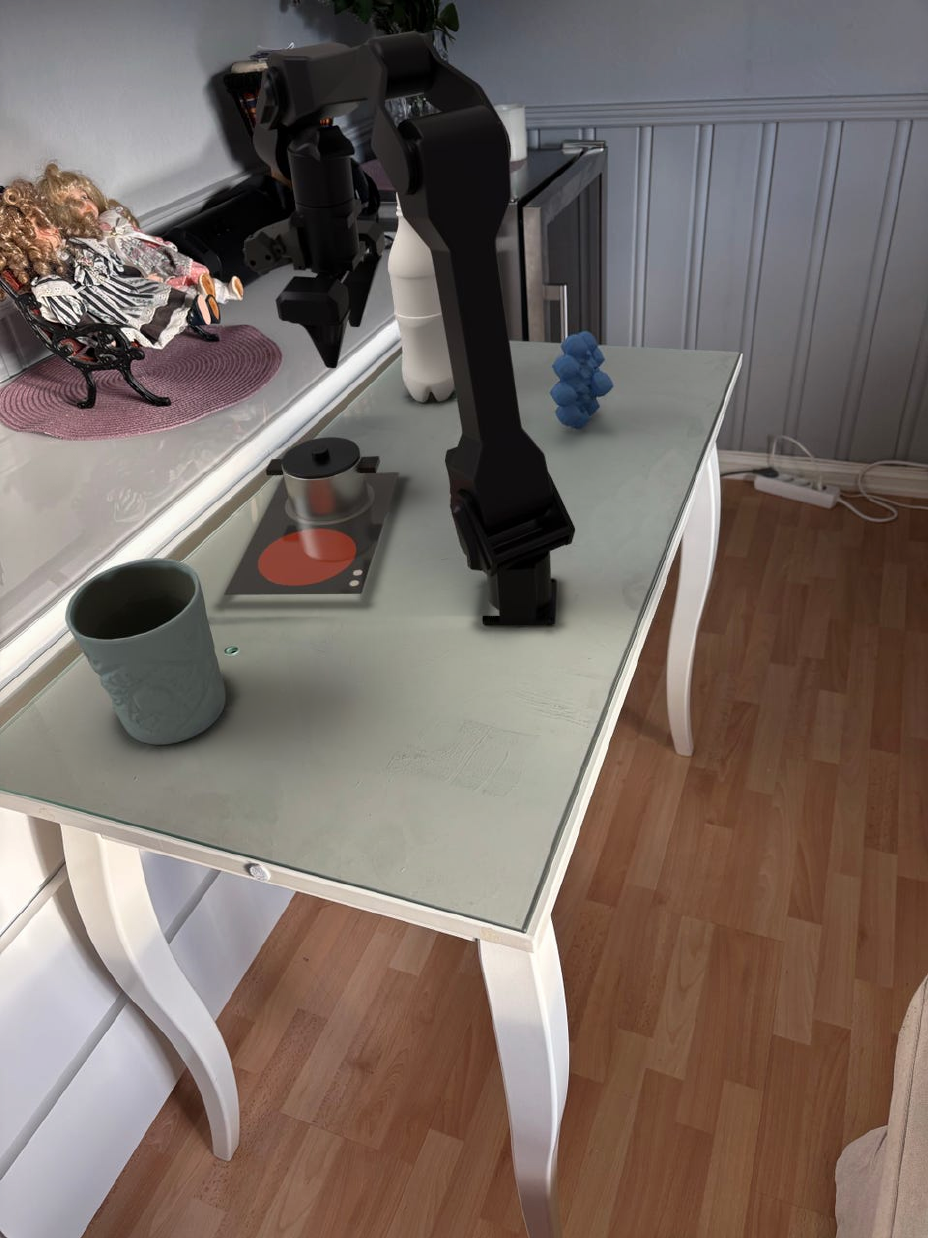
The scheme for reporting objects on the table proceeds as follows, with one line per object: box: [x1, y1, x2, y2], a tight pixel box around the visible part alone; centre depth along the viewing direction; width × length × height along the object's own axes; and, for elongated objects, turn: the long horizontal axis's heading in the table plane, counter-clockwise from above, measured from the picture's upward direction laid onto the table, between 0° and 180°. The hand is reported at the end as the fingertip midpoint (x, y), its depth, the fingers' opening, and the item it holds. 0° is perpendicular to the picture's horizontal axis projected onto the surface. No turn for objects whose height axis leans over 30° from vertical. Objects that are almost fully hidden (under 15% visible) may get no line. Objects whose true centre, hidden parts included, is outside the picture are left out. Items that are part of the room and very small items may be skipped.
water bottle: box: [387, 191, 455, 403], centre depth 112 cm, size 7×7×25 cm
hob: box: [223, 471, 400, 596], centre depth 95 cm, size 23×14×1 cm, turn 174°
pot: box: [265, 436, 381, 521], centre depth 96 cm, size 8×12×6 cm
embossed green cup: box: [64, 557, 227, 746], centre depth 72 cm, size 10×10×12 cm
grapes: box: [549, 330, 615, 430], centre depth 105 cm, size 12×7×12 cm, turn 152°
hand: (343, 346), depth 99 cm, fingers open, 9 cm apart
